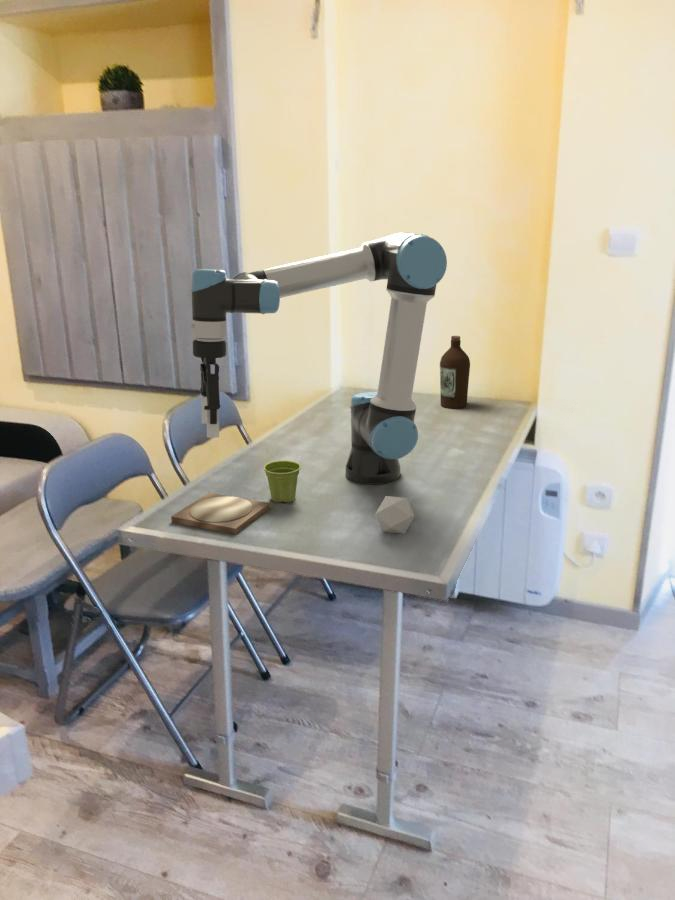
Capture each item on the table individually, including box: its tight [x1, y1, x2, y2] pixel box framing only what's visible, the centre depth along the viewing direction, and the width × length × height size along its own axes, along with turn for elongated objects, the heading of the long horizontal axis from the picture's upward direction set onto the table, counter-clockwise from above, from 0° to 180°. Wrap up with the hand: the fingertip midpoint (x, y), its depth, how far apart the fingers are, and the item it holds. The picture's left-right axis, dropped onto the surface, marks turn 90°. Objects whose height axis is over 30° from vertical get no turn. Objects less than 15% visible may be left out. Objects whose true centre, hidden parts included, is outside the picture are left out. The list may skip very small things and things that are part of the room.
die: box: [375, 495, 415, 535], centre depth 172 cm, size 8×9×10 cm
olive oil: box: [439, 335, 471, 410], centre depth 266 cm, size 11×11×25 cm
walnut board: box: [171, 492, 271, 535], centre depth 182 cm, size 18×16×2 cm
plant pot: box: [263, 460, 302, 503], centre depth 191 cm, size 9×9×9 cm
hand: (210, 430), depth 176 cm, fingers open, 13 cm apart
